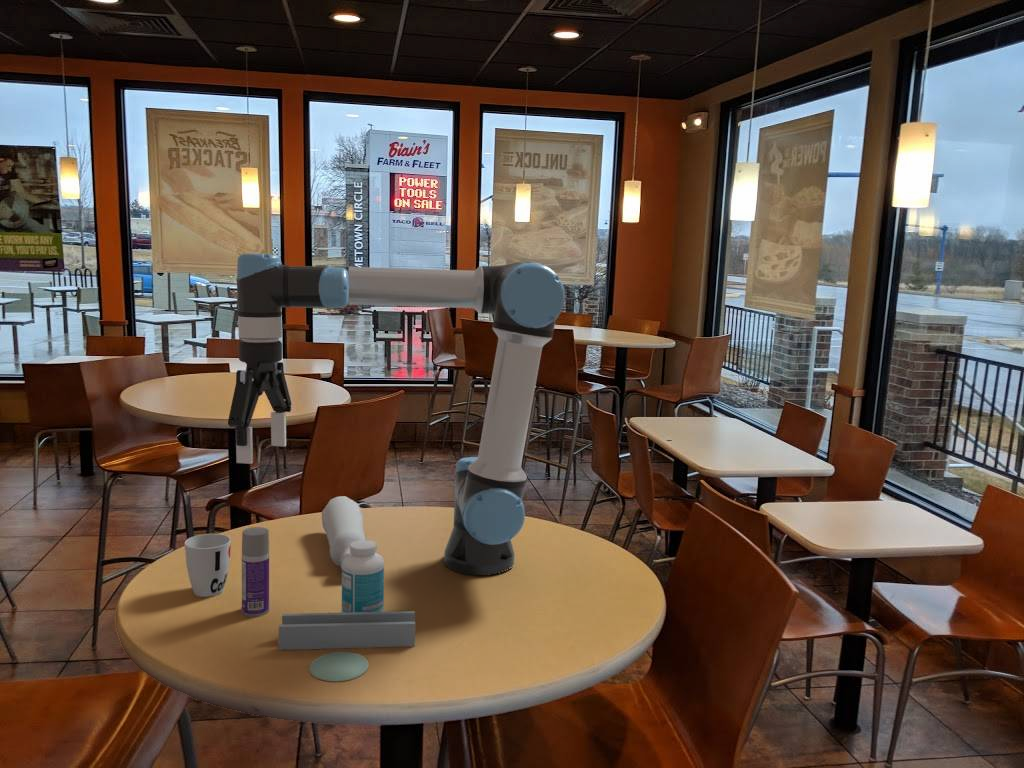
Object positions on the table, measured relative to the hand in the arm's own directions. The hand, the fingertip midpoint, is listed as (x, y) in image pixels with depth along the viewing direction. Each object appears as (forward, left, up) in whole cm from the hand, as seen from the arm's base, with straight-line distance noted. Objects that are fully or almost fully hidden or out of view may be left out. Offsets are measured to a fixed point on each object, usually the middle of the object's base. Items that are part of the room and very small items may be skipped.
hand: (262, 454), depth 146 cm
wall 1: (-17, +23, -27) cm, 39 cm away
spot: (-16, +29, -27) cm, 43 cm away
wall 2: (-17, +19, -27) cm, 37 cm away
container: (0, +8, -27) cm, 28 cm away
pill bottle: (-19, +11, -27) cm, 35 cm away
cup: (+10, -1, -27) cm, 29 cm away
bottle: (-14, -20, -27) cm, 36 cm away
